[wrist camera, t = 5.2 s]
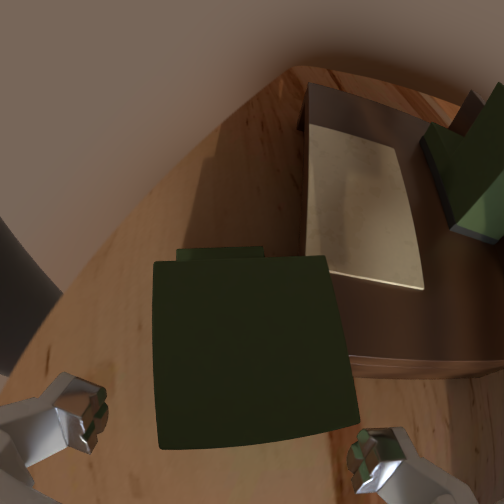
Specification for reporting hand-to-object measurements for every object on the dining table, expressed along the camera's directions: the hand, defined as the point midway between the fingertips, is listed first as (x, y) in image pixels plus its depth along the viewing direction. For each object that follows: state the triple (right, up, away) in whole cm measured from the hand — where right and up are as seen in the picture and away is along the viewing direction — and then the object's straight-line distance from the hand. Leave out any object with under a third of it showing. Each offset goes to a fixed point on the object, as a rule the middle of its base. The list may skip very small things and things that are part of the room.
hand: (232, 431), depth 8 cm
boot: (-1, 0, +9) cm, 9 cm away
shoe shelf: (+12, +7, +15) cm, 21 cm away
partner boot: (+17, +11, +12) cm, 24 cm away
